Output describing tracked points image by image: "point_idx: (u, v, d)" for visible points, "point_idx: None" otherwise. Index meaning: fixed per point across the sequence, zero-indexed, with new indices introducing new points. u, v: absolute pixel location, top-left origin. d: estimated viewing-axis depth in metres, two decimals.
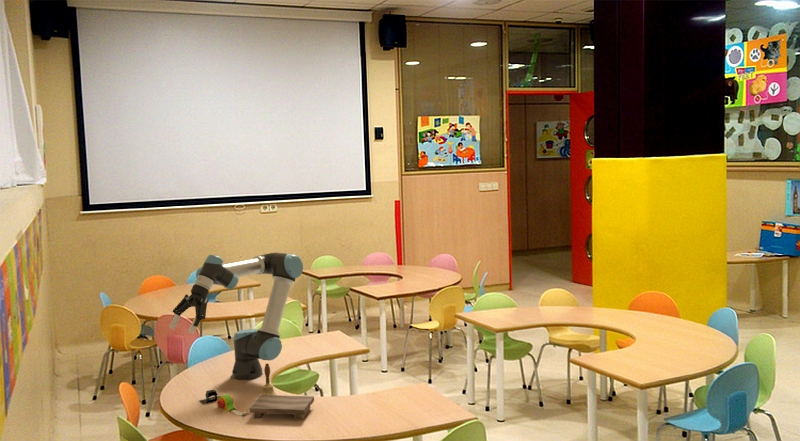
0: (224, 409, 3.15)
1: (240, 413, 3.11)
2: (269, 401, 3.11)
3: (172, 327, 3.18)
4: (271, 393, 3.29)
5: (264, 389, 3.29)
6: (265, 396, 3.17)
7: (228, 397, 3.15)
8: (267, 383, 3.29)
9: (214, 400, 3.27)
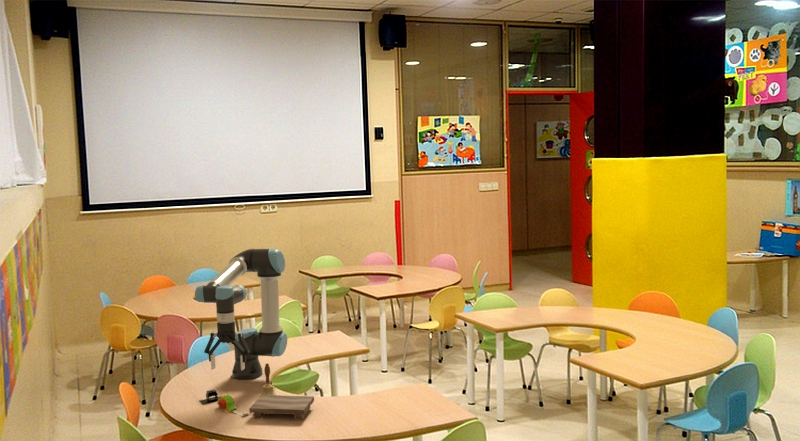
0: (225, 409, 3.14)
1: (241, 413, 3.10)
2: (269, 401, 3.11)
3: (214, 367, 3.14)
4: (271, 393, 3.29)
5: (264, 389, 3.29)
6: (265, 396, 3.17)
7: (229, 397, 3.15)
8: (267, 383, 3.29)
9: (214, 400, 3.27)
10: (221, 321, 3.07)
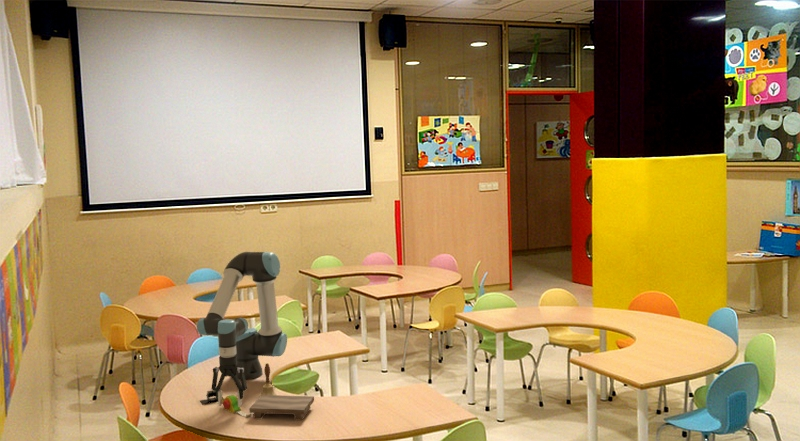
0: (229, 410, 3.13)
1: (245, 414, 3.09)
2: (269, 401, 3.11)
3: (221, 403, 3.15)
4: (271, 393, 3.29)
5: (264, 389, 3.29)
6: (265, 396, 3.17)
7: (233, 398, 3.14)
8: (267, 383, 3.29)
9: (214, 401, 3.26)
10: (223, 355, 3.09)
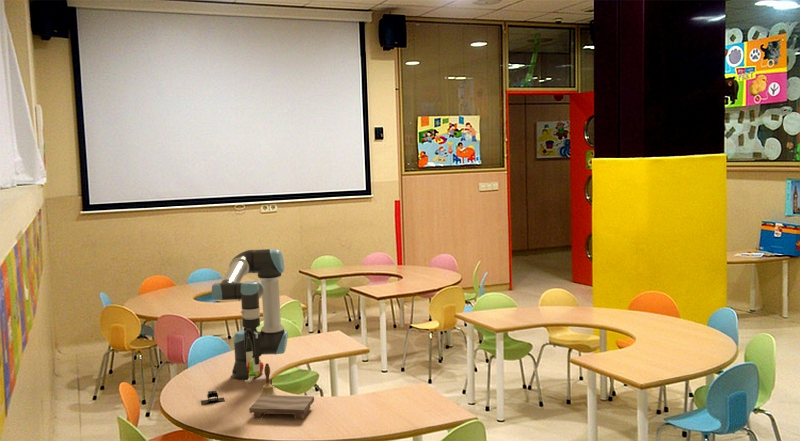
0: None
1: None
2: (269, 401, 3.11)
3: None
4: (271, 393, 3.29)
5: (264, 389, 3.29)
6: (265, 396, 3.17)
7: None
8: (267, 383, 3.29)
9: (214, 401, 3.25)
10: (242, 316, 3.06)
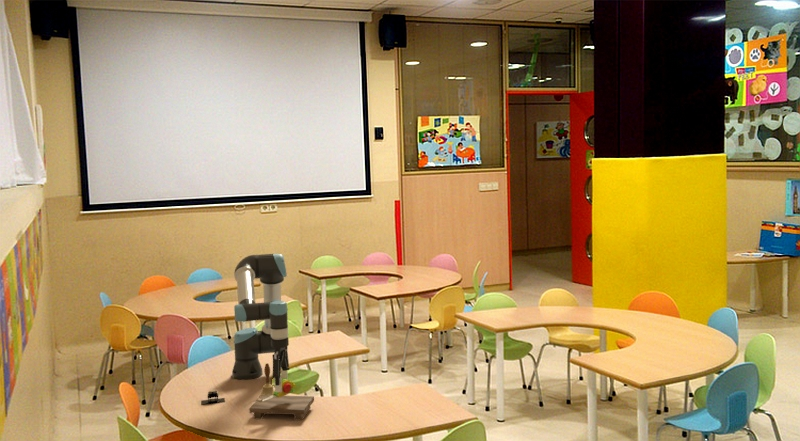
0: None
1: (265, 399, 3.02)
2: (269, 401, 3.11)
3: None
4: (271, 393, 3.29)
5: (264, 389, 3.29)
6: (265, 396, 3.17)
7: None
8: (267, 383, 3.29)
9: (214, 402, 3.25)
10: None
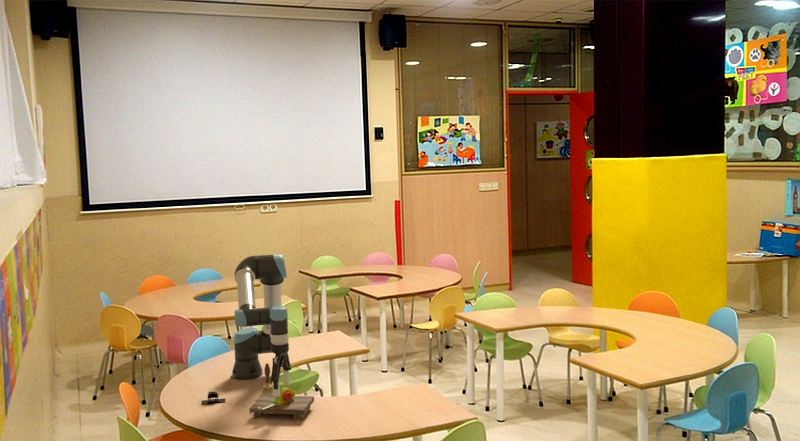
0: None
1: (265, 408, 3.02)
2: (269, 401, 3.11)
3: (286, 384, 3.16)
4: (271, 393, 3.29)
5: (264, 389, 3.29)
6: (265, 396, 3.17)
7: (280, 390, 3.08)
8: (267, 383, 3.29)
9: (214, 402, 3.25)
10: None
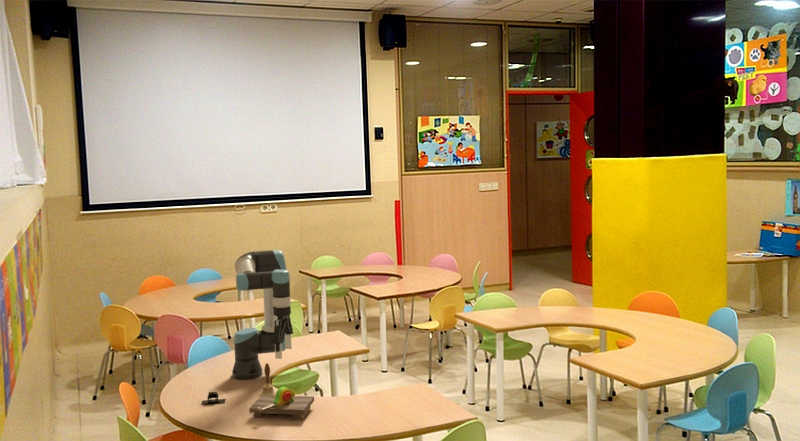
0: None
1: (265, 408, 3.02)
2: (269, 401, 3.11)
3: (288, 347, 3.17)
4: (271, 393, 3.29)
5: (264, 389, 3.29)
6: (265, 396, 3.17)
7: (279, 390, 3.08)
8: (267, 383, 3.29)
9: (214, 402, 3.24)
10: None
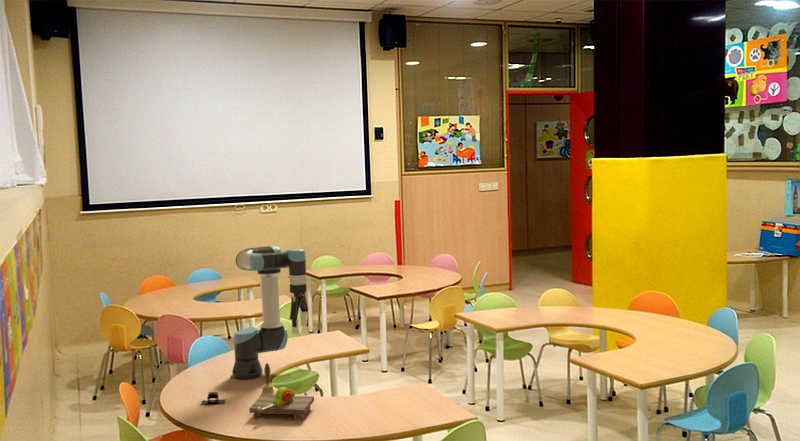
0: None
1: (264, 408, 3.02)
2: (269, 401, 3.11)
3: (303, 324, 3.29)
4: (271, 393, 3.29)
5: (264, 389, 3.29)
6: (265, 396, 3.17)
7: (279, 390, 3.07)
8: (267, 383, 3.29)
9: (213, 403, 3.23)
10: None
